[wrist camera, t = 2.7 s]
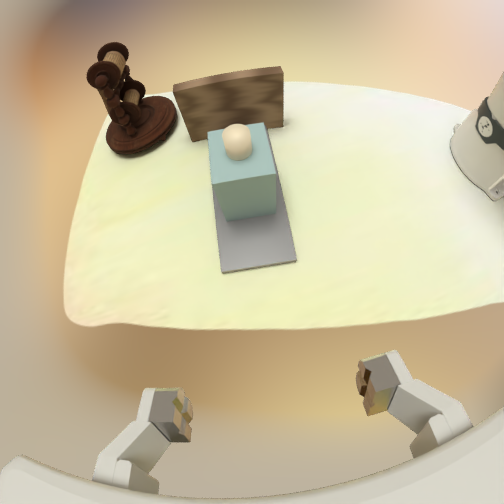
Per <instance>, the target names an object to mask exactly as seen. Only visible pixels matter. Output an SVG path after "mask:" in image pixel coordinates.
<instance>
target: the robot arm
mask: <svg viewBox="0 0 504 504" xmlns="http://www.w3.org/2000/svg"><path fill="white" fill-rule="evenodd" d="M450 146H451V151H452V154H453V156H454V158H455V160H456V162H457V164H458V166H459V167H460V169H461V170H462V171H463V173H464V174H465V175H466V176H467V177H468V178H469V179H470V180H471V181H472V182H473V183H474V184H476V185H477V186H478V187H480V188H481V189H483V190H484V191H485V192H486V193H487V195H488V196H489V197H490V198H491V199H492V200H493V201H496V200H498V199H500V198H502V197H504V72H503V74H502V76H501V78H500V79H499V81H498V83H497V84H496V86H495V88H494V89H493V91H492V93H491V94H490V96H489V97H486V98H485V100H484V101H483V102H482V103H481V105H480V107H479V108H478V110H475V109H474V110H473V111H472V112H471V113H470V114H469V115H468V117H467V118H466V119H465V120H464V122H463V123H462V124H456V125H455V127H454V135H453V136H452V138H451V141H450ZM358 367H359V371H358V372H357V375H356V383H357V388H358V391H359V394H360V395H362V396H363V397H364V402H363V405H364V408H365V410H366V413H367V416H370V415H374V414H377V413H380V412H383V411H387V410H388V412H389V413H390V414H391V415H393V416H394V417H395V418H397V419H398V420H399V421H401V422H402V423H403V424H404V425H406V426H407V427H408V428H410V429H411V430H412V431H414V432H415V433H416V434H418V435H417V437H416V438H415V439H414V441H413V442H412V443H411V445H410V449H411V452H412V454H413V458H414V459H412V460H409V461H406V462H404V463H402V464H399V465H397V466H394V467H391V468H389V469H386V470H383V471H380V472H378V473H374V474H371V475H368V476H365V477H362V478H359V479H355V480H352V481H348V482H344V483H341V484H337V485H332V486H328V487H323V488H319V489H314V490H309V491H303V492H297V493H290V494H283V495H274V496H265V497H253V498H231V499H230V498H227V499H226V498H225V499H214V498H210V499H209V498H188V497H176V496H165V495H159V494H158V491H159V490H158V489H159V482H158V480H156V479H155V478H153V477H152V476H150V475H149V472H150V471H151V470H152V468H153V467H154V466H155V464H156V463H157V462H158V460H159V459H160V458H161V456H162V455H163V454H164V452H165V451H166V450H167V448H168V447H169V445H170V444H171V443H170V442H190V440H191V430H192V429H191V427H190V426H189V423H190V422H191V420H192V418H193V410H192V405H191V402H190V400H189V399H188V398H187V397H185V396H184V395H185V392H184V391H183V389H182V388H145V390H144V391H143V394H142V398H141V402H140V406H139V410H138V414H137V418H136V421H132V422H131V423H130V424H129V425H128V426H127V427H126V428H125V429H124V430H123V431H122V432H121V433H120V434H119V435H118V436H117V437H116V438H115V439H114V440H113V441H112V442H111V443H110V444H109V445H108V446H107V447H106V448H105V449H104V450H103V451H102V452H101V453H99V455H98V458H97V462H96V467H95V471H94V475H93V480H92V481H91V480H88V479H84V478H81V477H78V476H75V475H72V474H69V473H66V472H63V471H61V470H57V469H55V468H53V467H50V466H48V465H45V464H43V463H41V462H38V461H36V460H34V459H32V458H29V457H27V456H24V455H18V456H17V457H15V458H14V459H12V460H11V461H10V462H9V463H8V464H6V465H5V466H4V468H3V469H2V471H1V473H0V504H504V406H503V407H502V408H501V409H499V410H498V411H496V412H495V413H494V414H492V415H491V416H489V417H488V418H487V419H485V420H483V421H482V422H480V423H479V424H477V425H476V426H474V427H473V425H472V423H471V421H470V419H469V417H468V415H467V413H466V412H465V410H464V408H463V406H462V404H461V402H459V401H457V400H455V399H454V398H451V397H450V396H448V395H446V394H444V393H442V392H440V391H438V390H437V389H435V388H433V387H431V386H429V385H427V384H425V383H424V382H422V381H420V380H418V379H414V380H413V378H412V376H411V374H410V373H409V371H408V369H407V367H406V365H405V363H404V362H403V360H402V358H401V356H400V355H399V353H398V351H396V350H393V351H389V352H386V353H382V354H379V355H376V356H372V357H369V358H365V359H362V360H360V361H359V364H358Z"/></svg>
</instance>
